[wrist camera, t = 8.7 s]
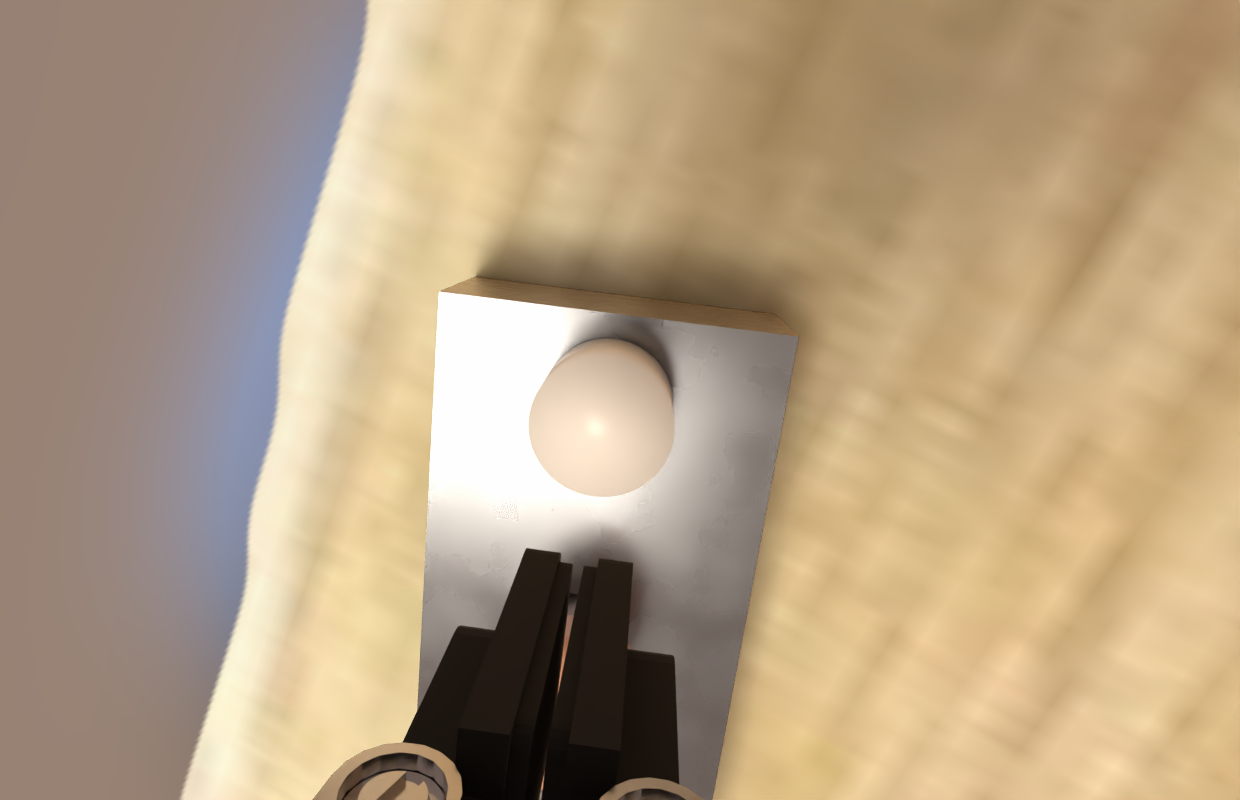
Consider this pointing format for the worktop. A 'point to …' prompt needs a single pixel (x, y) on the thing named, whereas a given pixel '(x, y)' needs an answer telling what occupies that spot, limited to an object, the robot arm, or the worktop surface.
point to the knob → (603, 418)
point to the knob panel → (620, 525)
